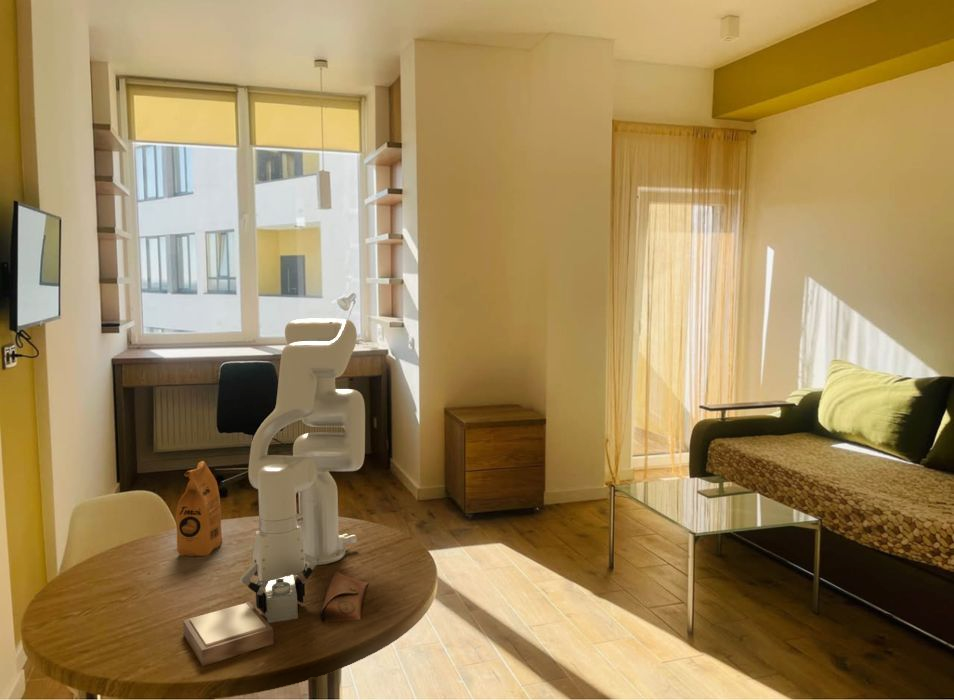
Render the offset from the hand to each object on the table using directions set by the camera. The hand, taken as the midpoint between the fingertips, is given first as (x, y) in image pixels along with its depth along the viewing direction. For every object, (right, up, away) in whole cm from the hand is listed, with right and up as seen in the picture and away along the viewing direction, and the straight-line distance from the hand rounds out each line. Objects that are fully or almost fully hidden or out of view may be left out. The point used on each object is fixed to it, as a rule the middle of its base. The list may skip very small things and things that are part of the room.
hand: (281, 604), depth 145 cm
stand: (-7, -2, -12) cm, 14 cm away
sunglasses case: (+13, -1, +4) cm, 14 cm away
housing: (0, -1, 0) cm, 1 cm away
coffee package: (-31, +2, +35) cm, 47 cm away
